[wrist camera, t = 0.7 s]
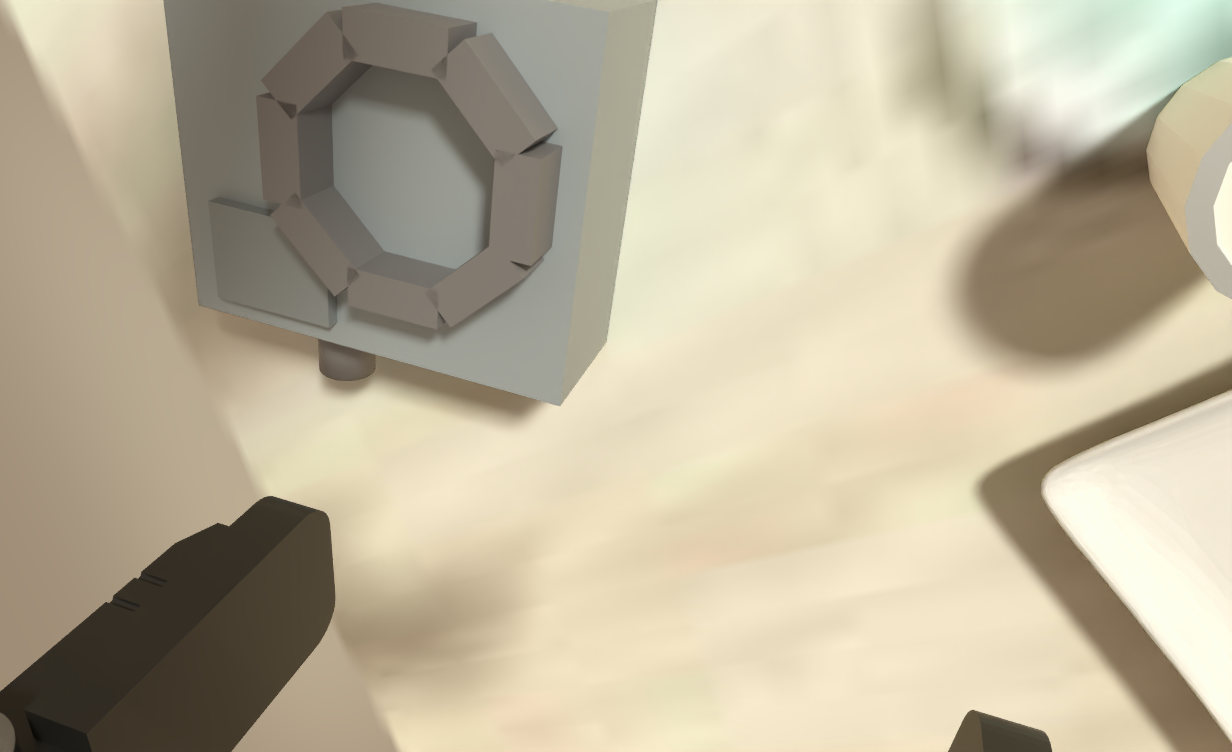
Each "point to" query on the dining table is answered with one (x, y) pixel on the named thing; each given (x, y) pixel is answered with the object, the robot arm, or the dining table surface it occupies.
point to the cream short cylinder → (1198, 169)
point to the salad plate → (1163, 536)
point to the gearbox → (414, 175)
